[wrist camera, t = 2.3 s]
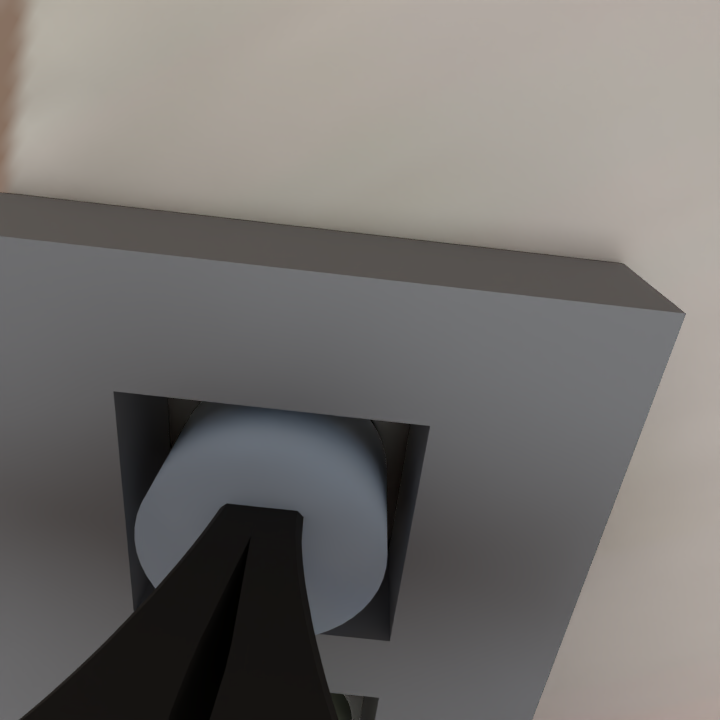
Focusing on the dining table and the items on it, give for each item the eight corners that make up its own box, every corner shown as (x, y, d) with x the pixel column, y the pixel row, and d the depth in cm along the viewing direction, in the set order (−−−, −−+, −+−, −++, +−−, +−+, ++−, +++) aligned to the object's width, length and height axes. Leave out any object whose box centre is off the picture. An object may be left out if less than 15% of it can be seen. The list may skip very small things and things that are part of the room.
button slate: (373, 555, 13) (372, 651, 11) (182, 534, 13) (142, 627, 11) (399, 388, 12) (404, 464, 9) (175, 363, 11) (125, 434, 9)
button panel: (424, 896, 21) (428, 992, 19) (95, 864, 21) (61, 957, 19) (623, 263, 11) (685, 313, 9) (-28, 189, 11) (-136, 221, 8)
